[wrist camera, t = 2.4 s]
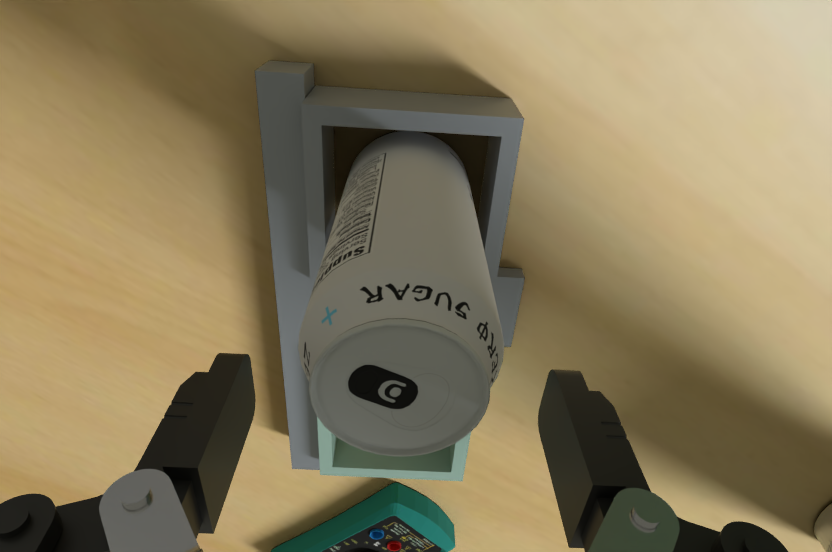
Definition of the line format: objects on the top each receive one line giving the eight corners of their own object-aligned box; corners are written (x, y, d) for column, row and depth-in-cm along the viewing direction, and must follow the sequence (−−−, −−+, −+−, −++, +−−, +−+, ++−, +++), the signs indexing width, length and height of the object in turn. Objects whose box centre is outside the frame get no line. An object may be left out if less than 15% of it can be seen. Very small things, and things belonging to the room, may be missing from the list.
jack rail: (558, 79, 24) (579, 98, 21) (486, 448, 37) (492, 491, 34) (268, 60, 24) (247, 75, 21) (299, 440, 37) (288, 483, 34)
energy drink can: (433, 253, 29) (445, 492, 16) (331, 207, 27) (255, 431, 15) (489, 158, 26) (558, 358, 13) (379, 102, 25) (337, 264, 12)
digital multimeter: (461, 517, 42) (464, 553, 40) (330, 581, 47) (325, 616, 45) (402, 471, 39) (400, 506, 37) (268, 544, 44) (259, 579, 42)
